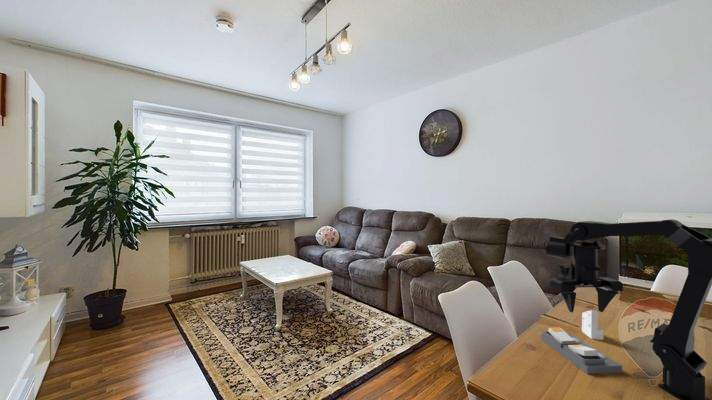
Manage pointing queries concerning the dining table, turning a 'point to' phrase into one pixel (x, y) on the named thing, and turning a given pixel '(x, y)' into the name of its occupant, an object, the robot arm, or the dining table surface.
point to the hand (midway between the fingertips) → (585, 311)
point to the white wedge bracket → (591, 325)
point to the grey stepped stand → (583, 362)
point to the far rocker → (560, 335)
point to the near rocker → (583, 350)
